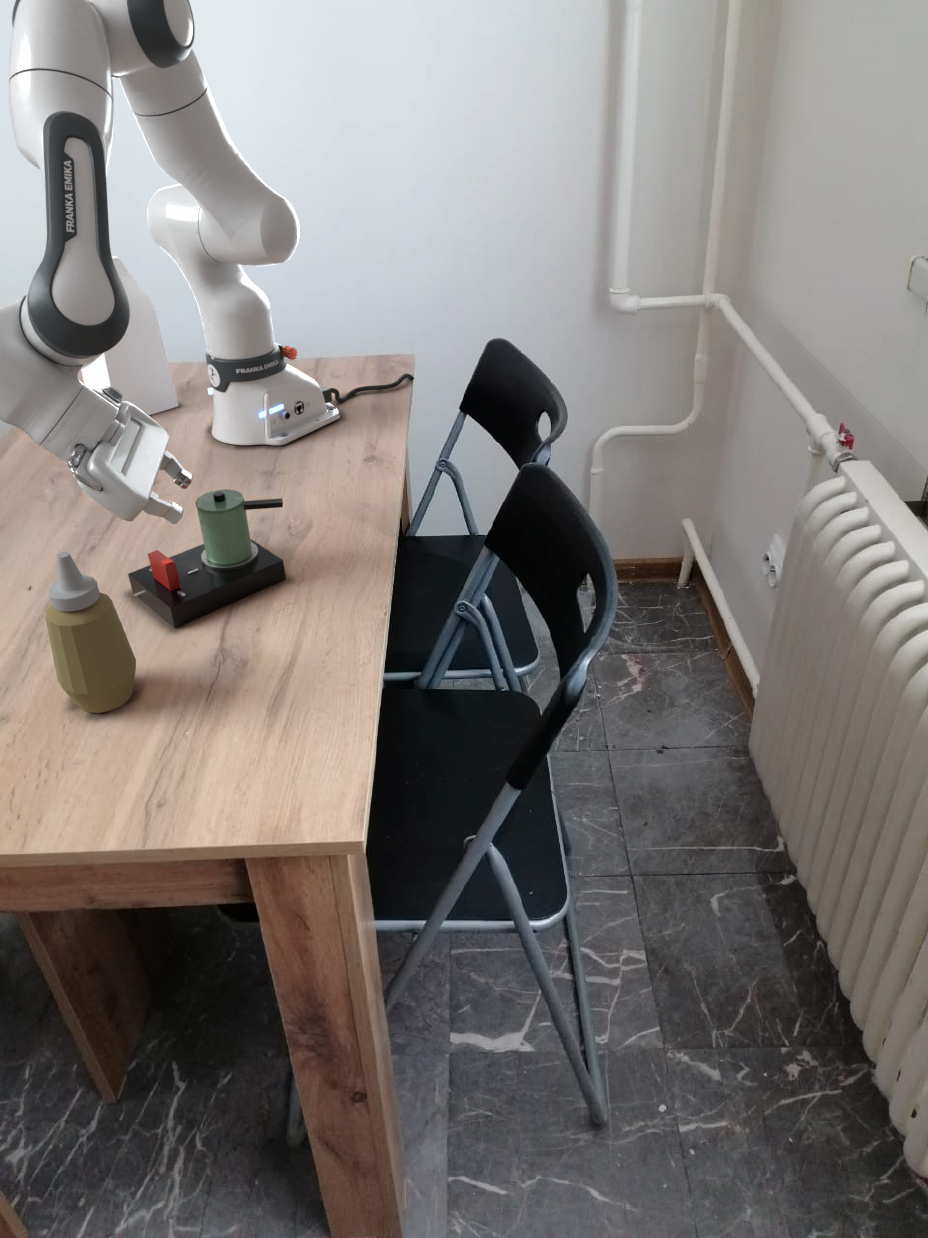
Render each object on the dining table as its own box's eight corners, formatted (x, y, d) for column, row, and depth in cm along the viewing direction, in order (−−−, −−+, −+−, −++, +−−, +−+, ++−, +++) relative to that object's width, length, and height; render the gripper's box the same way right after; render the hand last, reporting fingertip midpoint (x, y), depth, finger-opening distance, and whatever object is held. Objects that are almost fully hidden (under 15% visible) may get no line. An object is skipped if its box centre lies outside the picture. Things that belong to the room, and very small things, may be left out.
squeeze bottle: (77, 677, 106) (33, 537, 96) (150, 672, 106) (114, 532, 96) (57, 723, 99) (8, 578, 89) (135, 718, 100) (95, 573, 89)
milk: (147, 390, 180) (117, 248, 165) (178, 405, 173) (149, 258, 158) (88, 407, 173) (51, 260, 158) (118, 424, 166) (82, 272, 152)
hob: (240, 549, 129) (237, 529, 127) (286, 579, 122) (283, 558, 120) (119, 599, 119) (113, 578, 117) (161, 635, 112) (155, 613, 110)
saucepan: (259, 527, 126) (250, 470, 122) (293, 548, 122) (284, 489, 117) (197, 552, 121) (185, 493, 116) (229, 575, 116) (218, 514, 112)
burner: (239, 537, 126) (238, 533, 125) (269, 557, 121) (268, 552, 121) (191, 556, 122) (190, 552, 121) (220, 577, 117) (219, 573, 117)
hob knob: (153, 577, 117) (146, 551, 115) (163, 573, 118) (157, 547, 116) (170, 591, 115) (164, 565, 112) (181, 587, 115) (175, 561, 113)
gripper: (80, 447, 100) (190, 522, 107) (115, 380, 117) (208, 448, 123) (48, 488, 102) (157, 559, 109) (87, 416, 119) (180, 481, 125)
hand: (185, 499), depth 116 cm, fingers open, 8 cm apart
